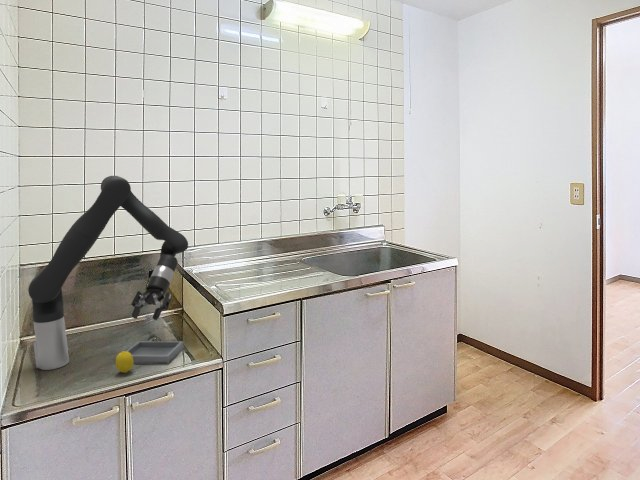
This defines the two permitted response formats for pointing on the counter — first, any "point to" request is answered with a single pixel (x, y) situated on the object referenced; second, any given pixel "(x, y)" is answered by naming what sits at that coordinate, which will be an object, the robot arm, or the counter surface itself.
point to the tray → (155, 351)
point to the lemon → (124, 361)
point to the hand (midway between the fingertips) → (144, 318)
